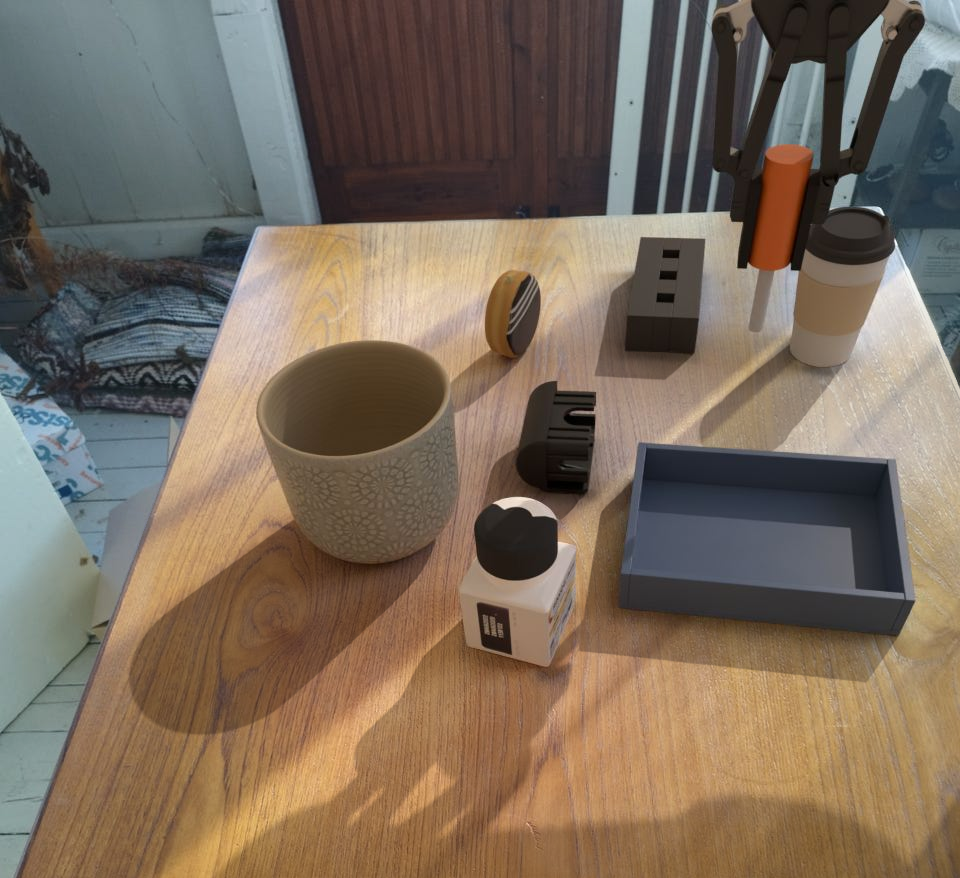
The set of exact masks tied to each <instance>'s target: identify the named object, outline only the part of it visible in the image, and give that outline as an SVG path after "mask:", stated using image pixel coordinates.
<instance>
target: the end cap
mask: <svg viewBox="0 0 960 878" xmlns="http://www.w3.org/2000/svg"><path fill="white" fill-rule="evenodd" d="M596 406H597V391H586V390H558V380H549V381H546V382H543V383H541V384H539V385H537V386H536V387H535V388H534V389H533V390H532V391H531V393H530V395H529V398H528V400H527V405H526V410H525V414H524V420H523V424H522V427H521V429H522V430H521V433H520V438H519V442H518V447H517V452H516V456H515V470H516V473H517V474H518V476H519V477H520V479H521V480H522V481H523V482H524V483H526V484H527V485H529V486H530V487H532V488H535V489H538V490H540V491H541V492H545V493H549V494H565V495H566V494H568V495H585V494H587V493H588V491H589V485H590V478H591V471H592V461H593V454H594V447H595V437H596V436H595V434H596V419H597V415H596V413H578V412H595V407H596ZM575 412H577V413H575Z"/></svg>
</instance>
